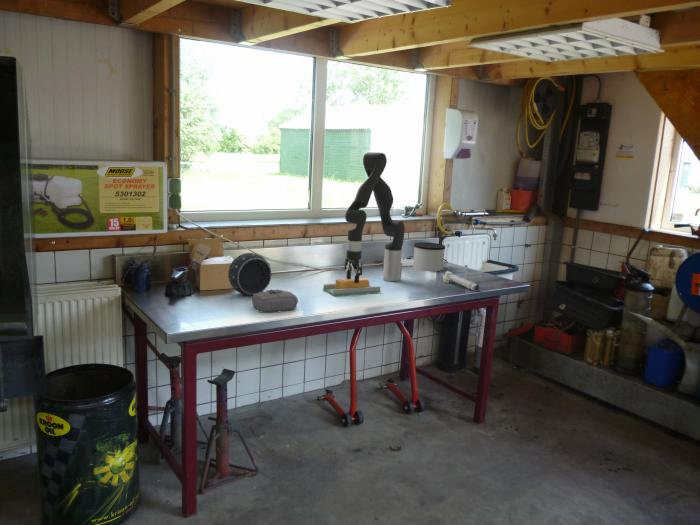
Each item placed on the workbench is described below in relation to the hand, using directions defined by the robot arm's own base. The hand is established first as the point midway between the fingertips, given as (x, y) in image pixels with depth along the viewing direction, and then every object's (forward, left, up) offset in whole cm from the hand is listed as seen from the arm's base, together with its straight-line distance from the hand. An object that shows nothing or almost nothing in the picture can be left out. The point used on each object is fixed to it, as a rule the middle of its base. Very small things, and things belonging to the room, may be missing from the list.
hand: (352, 280), depth 300 cm
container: (-73, -37, -6) cm, 82 cm away
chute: (0, 0, -4) cm, 4 cm away
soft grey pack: (+47, +17, -6) cm, 51 cm away
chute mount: (0, 0, -5) cm, 5 cm away
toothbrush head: (-64, +6, -6) cm, 64 cm away
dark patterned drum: (+51, -8, -6) cm, 52 cm away
